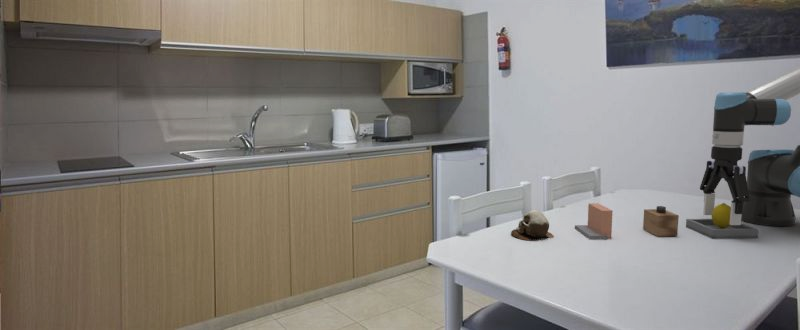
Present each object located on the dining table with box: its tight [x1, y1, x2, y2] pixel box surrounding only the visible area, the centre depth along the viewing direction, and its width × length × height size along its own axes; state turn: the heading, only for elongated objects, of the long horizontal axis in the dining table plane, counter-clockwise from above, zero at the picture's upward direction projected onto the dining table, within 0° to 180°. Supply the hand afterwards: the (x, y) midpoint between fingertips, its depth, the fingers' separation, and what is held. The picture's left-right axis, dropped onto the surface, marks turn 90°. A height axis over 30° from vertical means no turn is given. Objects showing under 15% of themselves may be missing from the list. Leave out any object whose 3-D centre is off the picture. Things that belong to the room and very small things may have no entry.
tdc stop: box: [574, 202, 613, 240], centre depth 149 cm, size 6×12×8 cm, turn 1°
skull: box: [510, 209, 555, 242], centre depth 148 cm, size 12×10×10 cm
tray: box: [685, 218, 759, 240], centre depth 149 cm, size 13×13×2 cm
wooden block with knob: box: [642, 205, 680, 237], centre depth 149 cm, size 6×8×8 cm
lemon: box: [711, 202, 731, 229], centre depth 149 cm, size 6×6×8 cm
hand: (721, 219), depth 149 cm, fingers open, 11 cm apart
